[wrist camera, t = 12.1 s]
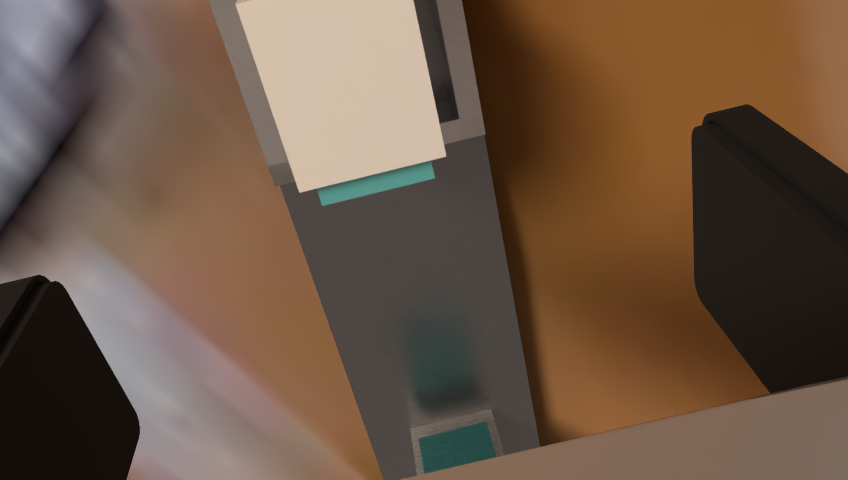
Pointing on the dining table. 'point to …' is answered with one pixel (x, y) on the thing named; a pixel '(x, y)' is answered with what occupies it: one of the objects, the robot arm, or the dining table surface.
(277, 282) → the dining table surface
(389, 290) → the rail
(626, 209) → the dining table surface
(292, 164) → the cream block teal pad
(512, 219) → the dining table surface
